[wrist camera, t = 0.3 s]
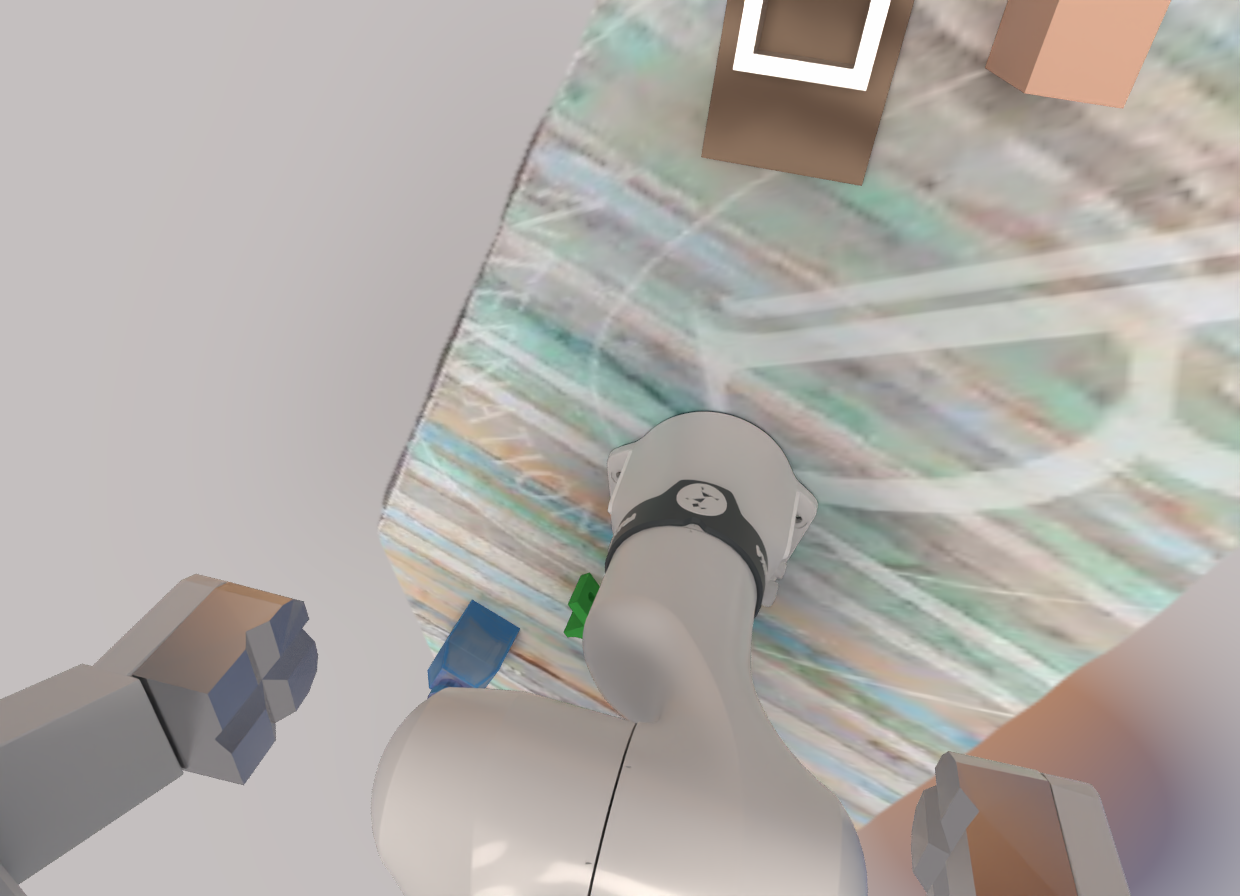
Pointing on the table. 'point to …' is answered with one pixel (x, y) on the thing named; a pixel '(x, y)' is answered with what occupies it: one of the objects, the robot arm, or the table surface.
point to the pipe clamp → (581, 605)
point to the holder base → (802, 91)
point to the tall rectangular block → (1075, 47)
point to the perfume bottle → (472, 650)
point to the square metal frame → (807, 67)
